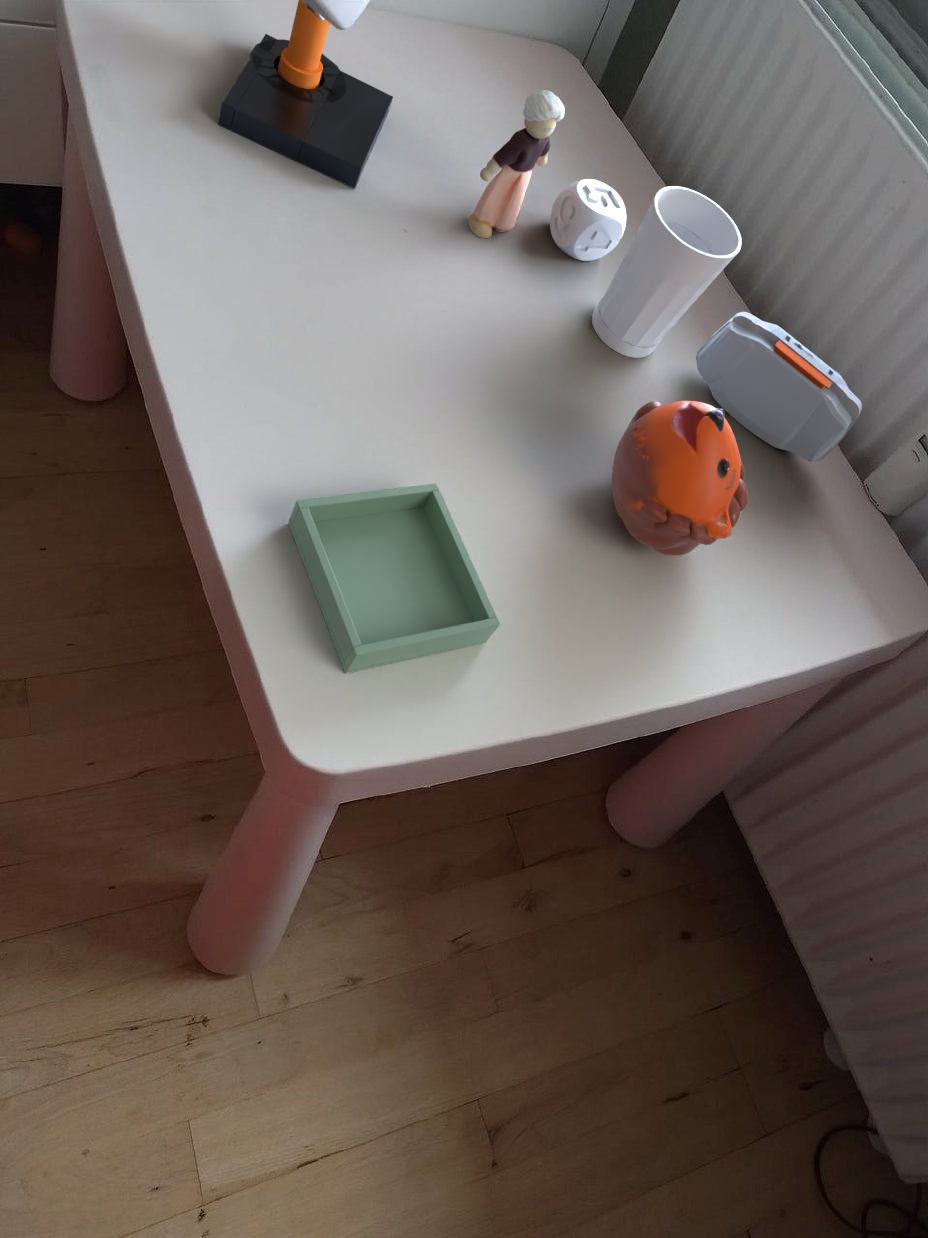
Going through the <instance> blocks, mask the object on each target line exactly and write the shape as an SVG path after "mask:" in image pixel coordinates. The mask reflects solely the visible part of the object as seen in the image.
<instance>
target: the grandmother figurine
mask: <svg viewBox="0 0 928 1238" xmlns="http://www.w3.org/2000/svg"><path fill="white" fill-rule="evenodd" d="M565 110H566V109H565V105H564V103H563V102H562V101H561V99H560V98H559V96H558V95H556V94H554V93H553V91H550V90H543V89H542V90H539V91H536V92H531V94H530V95H529V96H527V97H526V98H525V103H524V108H523V112H522V114H523V117H524V126H525V128H522V129H520V130H517V131H515V132H514V133H513V134H512V136H511V137H510V139H509V140H508V141H506V143H505V144H504V145H502V147H501V148H499V149H498V150H497V151H496V152H495V153H494V154H493V155H492V157H491V159H490V160H489V161H488V162H487V164H486V166H485V167H483V168H482V169H481V170H480V171H479V177H480V179H481V180H482V181H483V182H489V183H488V184H487V185H486V187H485V189H484V191H482V194H481V196H480V198H479V200H478V202H477V204H476V206H475V208H474V210H473V213H470V214H469V215H468V216H467V217H466V220H467V221H466V222H467V224H468V226H469V228H470V230H471V232H472V233H473V235H475V236H477V237H478V238H481V239H489V238H491V236H492V234H493V229H494V230H495V231H496V232H500V233H506V232H507V231H511V230H512V229H513V228H514V227H515V224H516V222H517V219H518V216H519V213H520V211H521V208H522V205H523V203H524V198H525V194H526V191H527V189H528V186H529V182H530V179H531V176H532V172H533V169H534V168H535V166H536V165H537V166H539V167H544V166H545V165H546V164H547V163H548V156H549V152H550V149H551V139H550V136H551V134H552V133H553V132H554V131H555V129H556V125H557V123H558V122H560V121H561V120H562V119H563V118H564V117H565V112H566V111H565ZM494 174H496V175H494ZM490 180H491V181H490Z"/></svg>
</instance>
